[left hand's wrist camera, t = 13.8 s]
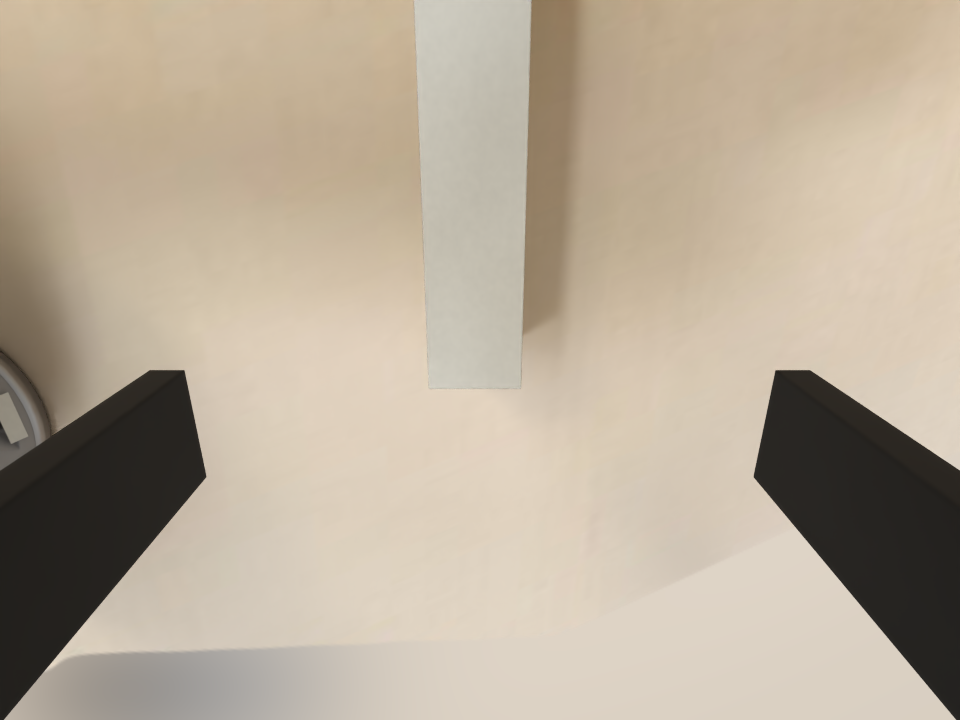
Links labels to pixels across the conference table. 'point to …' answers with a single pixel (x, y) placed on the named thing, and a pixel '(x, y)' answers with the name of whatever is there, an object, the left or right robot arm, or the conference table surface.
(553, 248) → the conference table surface
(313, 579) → the conference table surface
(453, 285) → the bar
